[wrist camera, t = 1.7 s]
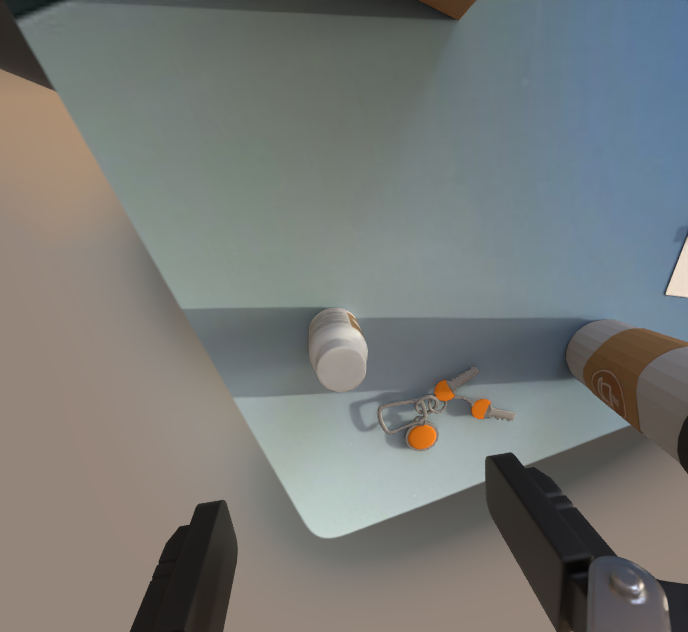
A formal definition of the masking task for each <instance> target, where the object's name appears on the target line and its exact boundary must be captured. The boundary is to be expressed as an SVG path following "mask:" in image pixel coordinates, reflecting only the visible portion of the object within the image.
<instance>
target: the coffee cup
mask: <svg viewBox="0 0 688 632" xmlns="http://www.w3.org/2000/svg"><path fill="white" fill-rule="evenodd" d="M566 361H567V364H568V367H569V370H570V372H571V373H572V374H573V376H574V377H575V378H576V379H578V380H579V381H580V382H581V383H583V384H584V385H585V386H586V387H587V388H589V389H590V390H591V391H592V393H593V394H594V395H596V396H597V397H598V398H599V399H601V400H602V401H603V402H604V403H605V404H607V405H608V406H609V407H610V408H611V409H613V410H614V411H615V412H616V413H617V414H619V415H620V416H621V417H622V418H623V419H625V420H626V421H627V422H628V423H630V424H631V425H632V426H633V427H634V428H636V429H637V430H638V431H639V432H641V433H643V434H645V435H646V436H648V438H650V439H651V440H652V441H653V442H655V443H656V444H657V445H658V446H659V447H661V448H662V449H663V450H664V451H666V452H667V453H668V454H669V455H670V456H672V457H673V458H674V459H675V460H677V461H678V462H679V463H680V464H681V465H682V467H683V468H684V470H685V471H686V472H687V473H688V342H685V341H682V340H679V339H675V338H672V337H669V336H666V335H663V334H660V333H657V332H654V331H650V330H647V329H644V328H638V327H635V326H632V325H629V324H626V323H623V322H620V321H616V320H610V319H604V320H599V321H594V322H591V323H589V324H587V325H585V326H583V327H582V328H581V329H579V330H578V331H577V332H576V333H575V334H574V336H573V337H572V338H571V340H570V342H569V344H568V346H567V351H566Z"/></svg>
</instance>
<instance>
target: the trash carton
mask: <svg viewBox="0 0 688 632" xmlns="http://www.w3.org/2000/svg"><path fill="white" fill-rule="evenodd" d="M419 1H421V2H423V3H425V4H427V5H429V6H431V7H433V8H435V9H437V10H439V11H441V12H443V13H445V14H447V15H449V16H451V17H453V18H455V19H457V20H460V18H461V17H462V16H463V15H464V14H465V13H466V11H467V10H468V9H469V8H470V7H471V6H472V5H473V3H474V2H475V1H476V0H419Z"/></svg>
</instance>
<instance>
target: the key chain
mask: <svg viewBox="0 0 688 632" xmlns="http://www.w3.org/2000/svg"><path fill="white" fill-rule="evenodd" d="M477 374H479V369H478V368H476V367H470V370H469V371H467V372H466V371H464V374H463V375H462V373H460V374H459V375H458V378H457V379H456V378H454V379H453V378H452V379H451V381H446V380H443V381H440V382H439V383H438V384H437V385H436V387H435V391H434V392H435V395H434V396H432V395H424V396H422V397H420V398H419V399H411V400H404V401H397V402H392V403H386V404H383V405H380V406H379V407H378V420H379V423H380V425H381V427H382V429H383V430H384V431H385V433H387V434H393V433H395V432H397V431H399V430H402V429H404V428H407V427H409V426H410V427H409V428H408V430H407V432H406V435H405V440H406V443H407V445H408V446H409V447H410V448H411V449H413V450H415V451H425V450H428V449H430V448H431V447H433V446H434V445H435V443H436V442H437V440H438V431H437V428H436V427H435V426H434V425H433V424H432V423H429V422H427V421H426V420H427V414H430V413H432V412H433V413H440V412H442V411H444V410H445V408H446V407H447V401H448V400H451V399H453V398H457V399H459V398H460V399H464V400H465V401H468V403H470V404H471V406H472V408H471V412H472V414H473V416H474V417H475V418H477V419H484V418H485V417H487V416H488V417H489V418H491V417H493V416H495V418H496V419H497V420H499V418H501V420H503V419H507V421H510V420H513V419H514V418H515V413H512V412H508V411H504V410H500V409H496V408H492V405H491V402H490V401H488V400H487V399H480V400H478V401H476V402H475V403H472V401H471V400H469V399H468V398H465V397H464V396H460V395H455V392H456V388H457V387H459V386H460V385H462V384H464V383H465V382H467V381H468V380H470V379H471V378H473V377H474V376H476V375H477ZM436 397H437V398H438V399H439V400H440V401H444V402H445V403H444V406H443V408H442V409H440V410H437V411H436V409H437V407H438V404H439V402H438V399H437V398H436ZM428 398H430V399H429V401H428V408H429V410H428V411H426V407H425V404H424V401H423V400H424V399H428ZM432 400H434V401H435V406H434V407H433V408H431V401H432ZM410 403H416V404H415V410H416V411H417V412H418V413H419V414H423V417H422V416H417V417H415V419H414V421H415V422H413V423H410V424H408V425H405V426H403V427H401V428H398V429H396V430H394V429H393V430H388V429H387V428H386V426H385V424H384V422H383V419H382V409H384V408H387V407H391V406H397V405H403V404H410ZM419 403H420V404H421V407H422V411H421V410H420V409H419V407H418V405H419ZM418 417H420V419H419V420H417V421H416V419H417V418H418Z"/></svg>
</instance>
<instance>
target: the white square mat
mask: <svg viewBox="0 0 688 632" xmlns="http://www.w3.org/2000/svg"><path fill="white" fill-rule="evenodd" d="M665 295H672V296H681V297H688V237H687V239H686V242H685V244H684V247H683V250H682V252H681V255H680V257H679V260H678V263H677V265H676V268H675V270H674V273H673V276H672V278H671V281H670V283H669V286H668V289H667V291H666V294H665Z"/></svg>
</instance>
